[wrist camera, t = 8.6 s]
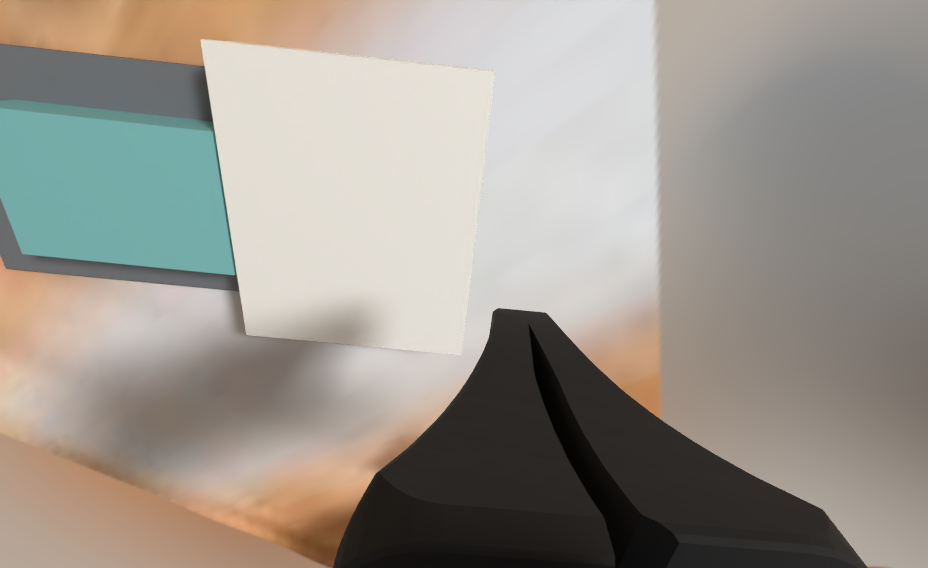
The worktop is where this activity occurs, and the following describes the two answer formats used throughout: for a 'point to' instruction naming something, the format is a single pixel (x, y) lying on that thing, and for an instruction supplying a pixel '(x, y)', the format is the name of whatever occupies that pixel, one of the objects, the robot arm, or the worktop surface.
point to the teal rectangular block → (114, 187)
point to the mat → (107, 88)
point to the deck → (350, 192)
